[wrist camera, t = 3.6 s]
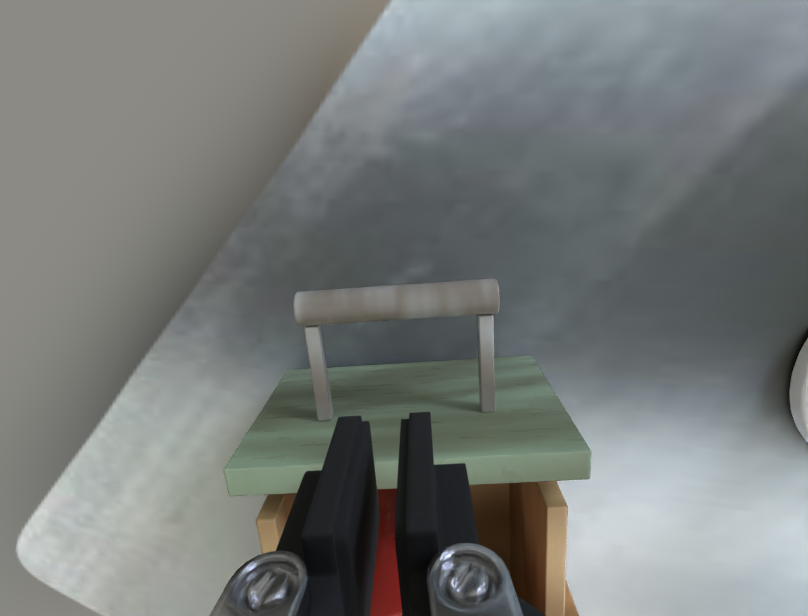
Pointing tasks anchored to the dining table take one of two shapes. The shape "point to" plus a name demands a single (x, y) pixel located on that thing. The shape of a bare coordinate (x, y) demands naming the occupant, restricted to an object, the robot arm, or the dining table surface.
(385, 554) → the can
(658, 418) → the dining table surface
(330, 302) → the drawer
